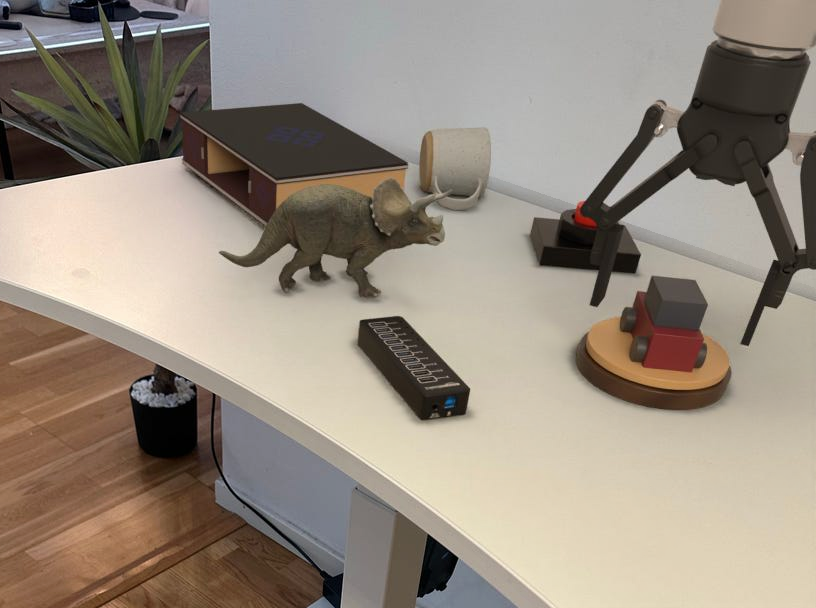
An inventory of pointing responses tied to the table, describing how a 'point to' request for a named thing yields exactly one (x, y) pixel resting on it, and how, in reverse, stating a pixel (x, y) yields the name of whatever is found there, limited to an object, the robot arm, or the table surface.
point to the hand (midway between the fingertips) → (669, 320)
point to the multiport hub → (413, 368)
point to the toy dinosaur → (344, 230)
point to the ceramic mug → (455, 164)
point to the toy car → (661, 339)
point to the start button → (580, 218)
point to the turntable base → (643, 392)
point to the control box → (577, 244)
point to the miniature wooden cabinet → (280, 155)
